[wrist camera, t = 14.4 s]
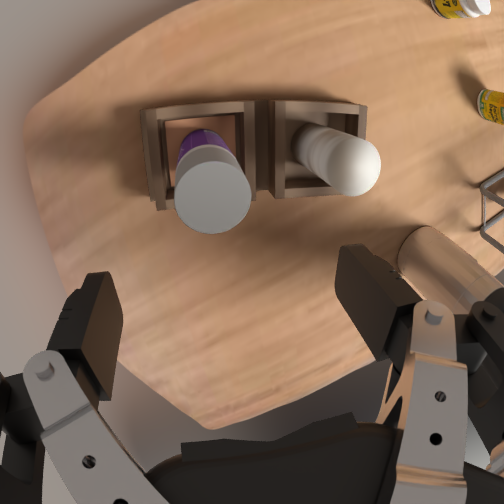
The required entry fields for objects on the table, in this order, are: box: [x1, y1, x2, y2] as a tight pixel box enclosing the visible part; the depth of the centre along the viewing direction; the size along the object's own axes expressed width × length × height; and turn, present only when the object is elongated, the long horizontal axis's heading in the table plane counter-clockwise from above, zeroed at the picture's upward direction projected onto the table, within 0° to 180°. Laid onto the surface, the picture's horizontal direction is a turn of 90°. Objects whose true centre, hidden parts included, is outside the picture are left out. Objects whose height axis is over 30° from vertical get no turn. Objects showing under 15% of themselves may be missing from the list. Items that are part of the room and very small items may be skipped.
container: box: [174, 129, 251, 234], centre depth 24 cm, size 5×5×15 cm
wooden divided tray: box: [140, 100, 381, 211], centre depth 28 cm, size 24×10×12 cm, turn 91°
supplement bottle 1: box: [431, 0, 491, 19], centre depth 21 cm, size 5×5×8 cm
